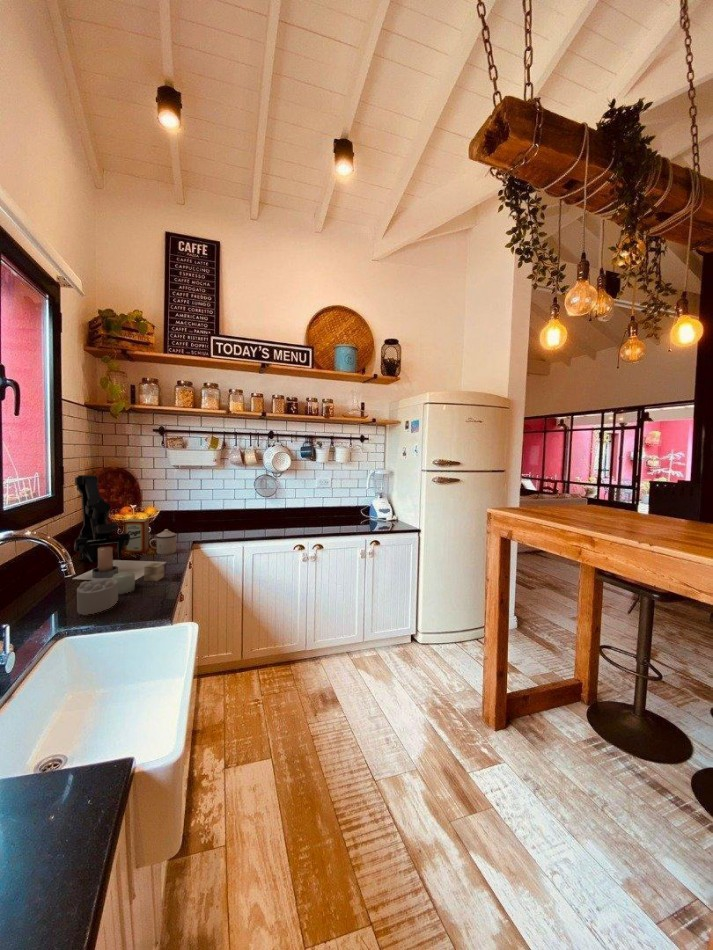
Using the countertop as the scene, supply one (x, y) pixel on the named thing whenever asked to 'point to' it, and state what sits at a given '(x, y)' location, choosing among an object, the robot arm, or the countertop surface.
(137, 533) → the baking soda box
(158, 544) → the teacup with lid
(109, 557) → the pink cylinder
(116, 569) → the metal collar
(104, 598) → the lumpy-topped squat cylinder
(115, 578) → the sage jar
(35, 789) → the countertop surface
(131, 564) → the board
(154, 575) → the birch block
